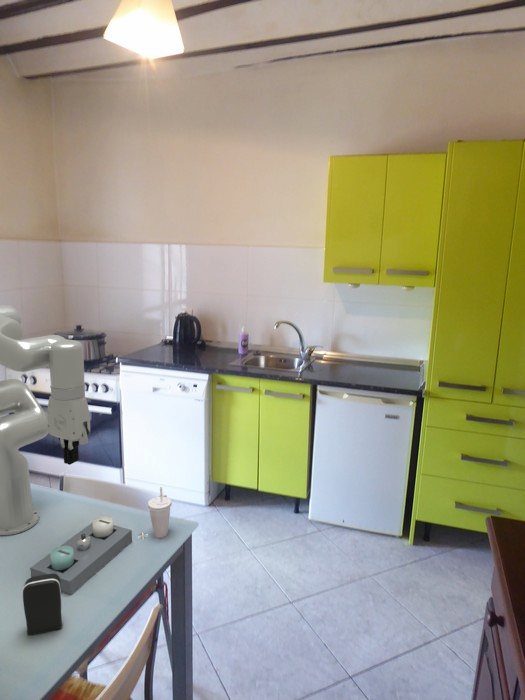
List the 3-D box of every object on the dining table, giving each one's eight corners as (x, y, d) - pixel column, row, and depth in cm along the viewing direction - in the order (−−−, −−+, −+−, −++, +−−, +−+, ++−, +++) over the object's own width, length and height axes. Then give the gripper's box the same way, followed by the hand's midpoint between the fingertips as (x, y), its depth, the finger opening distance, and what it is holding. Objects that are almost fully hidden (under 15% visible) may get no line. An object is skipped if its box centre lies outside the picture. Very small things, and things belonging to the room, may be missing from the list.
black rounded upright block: (64, 615, 101) (60, 568, 99) (63, 629, 98) (59, 580, 95) (28, 623, 99) (23, 575, 97) (25, 637, 96) (20, 587, 93)
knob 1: (47, 575, 112) (45, 554, 110) (63, 563, 116) (61, 543, 115) (63, 581, 110) (61, 560, 109) (79, 568, 114) (77, 548, 113)
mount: (31, 580, 112) (30, 567, 111) (96, 531, 132) (95, 519, 131) (70, 595, 107) (69, 581, 107) (132, 541, 127) (131, 529, 127)
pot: (75, 549, 118) (74, 536, 117) (83, 542, 121) (82, 530, 120) (84, 552, 117) (83, 539, 116) (93, 545, 120) (92, 533, 119)
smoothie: (167, 542, 127) (165, 494, 124) (144, 539, 128) (142, 491, 126) (176, 529, 133) (174, 483, 130) (154, 526, 135) (153, 480, 132)
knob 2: (89, 543, 124) (88, 523, 123) (102, 532, 129) (101, 514, 128) (104, 547, 122) (103, 528, 121) (117, 537, 127) (116, 518, 126)
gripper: (32, 390, 114) (37, 460, 118) (79, 401, 108) (82, 475, 112) (58, 382, 121) (61, 449, 125) (103, 392, 114) (105, 463, 119)
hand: (71, 461), depth 118 cm, fingers closed
